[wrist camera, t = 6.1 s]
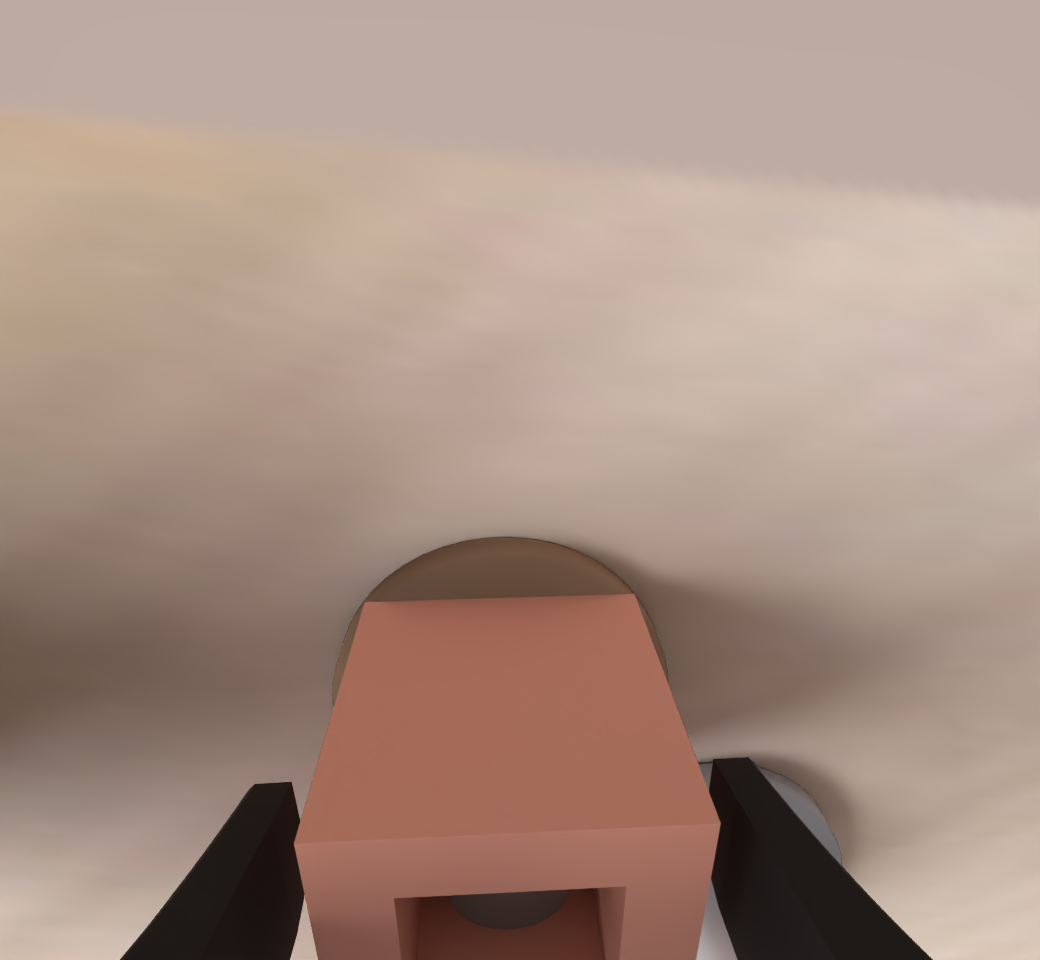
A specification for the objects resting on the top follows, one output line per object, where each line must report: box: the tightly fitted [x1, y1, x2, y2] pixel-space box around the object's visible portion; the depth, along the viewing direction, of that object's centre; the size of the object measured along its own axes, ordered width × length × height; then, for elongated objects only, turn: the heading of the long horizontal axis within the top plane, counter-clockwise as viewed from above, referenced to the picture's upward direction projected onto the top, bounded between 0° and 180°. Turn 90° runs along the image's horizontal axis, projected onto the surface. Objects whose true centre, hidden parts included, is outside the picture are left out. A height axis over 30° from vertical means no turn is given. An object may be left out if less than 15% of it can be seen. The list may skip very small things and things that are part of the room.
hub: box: [333, 537, 668, 929], centre depth 12 cm, size 7×7×5 cm
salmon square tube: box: [294, 594, 721, 960], centre depth 11 cm, size 5×5×5 cm
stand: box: [696, 763, 842, 960], centre depth 15 cm, size 7×7×5 cm
